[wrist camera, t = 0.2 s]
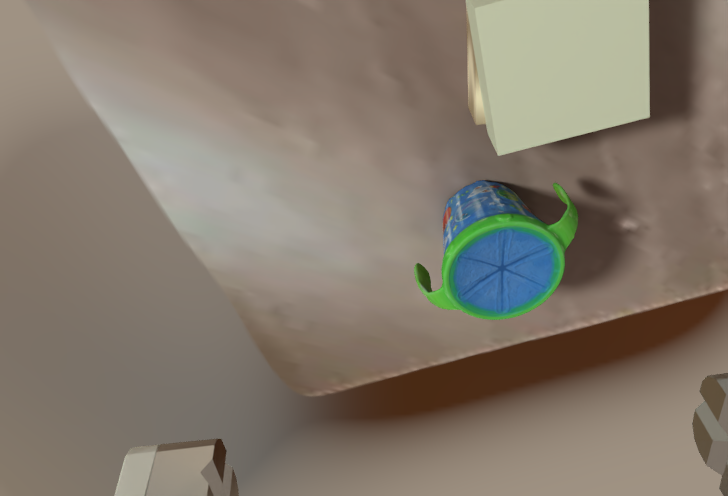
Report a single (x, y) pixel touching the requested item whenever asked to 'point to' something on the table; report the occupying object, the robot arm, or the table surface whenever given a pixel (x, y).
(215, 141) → the table surface
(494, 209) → the snack cup
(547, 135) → the upper slab
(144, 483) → the robot arm
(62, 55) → the table surface
